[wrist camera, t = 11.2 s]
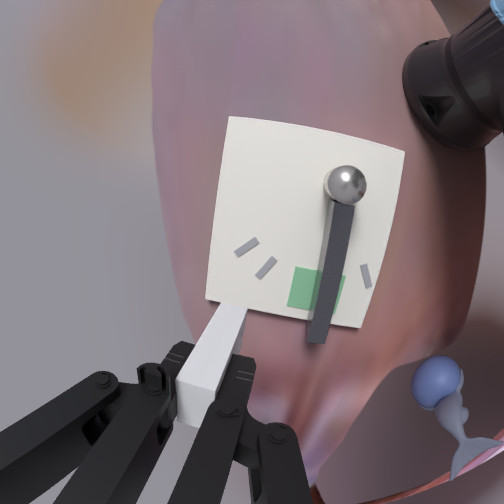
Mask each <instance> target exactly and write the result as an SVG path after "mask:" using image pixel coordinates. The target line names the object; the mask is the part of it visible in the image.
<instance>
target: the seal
mask: <svg viewBox="0 0 504 504" xmlns="http://www.w3.org/2000/svg"><path fill="white" fill-rule="evenodd" d="M463 380H464V376H463V372H462V369H460V370H459V368H458V365H457V364H456V363H455V361H453V360H452V359H451V358H449V357H446V356H434V357H431V358H429V359H427V360H425V361H424V362H423V363H422V364H421V365H420V366H419V367H418V368H417V370H416V371H415V373H414V375H413V378H412V383H411V390H412V394H413V397H414V398H415V400H416V401H417V402H418V403H419V404H418V405H419V406H420V407H421V408H423V409H424V410H428V411H435V412H436V417H437V418H438V421H439V423H440V424H441V425H442V426H443V427H444V428H445V429H446V430H448V431H449V432H450V433H451V434H452V435H453V436H454V437H455V438H456V439H457V441H458V442H459V446H458V449H457V450H456V452H455V455H454V456H453V459H452V465H451V475H450V479H449V480H450V481H452V480H453V479H454V478H455V477H456V475H457V474H458V473H459V471H460V470H461V469H462V468H463V467H464V466H465V465H466V464H467V463H468V462H469V461H471V460H472V459H473V458H475V457H476V456H477V455H479V454H481V453H482V452H484V451H486V450H488V449H490V448H494V447H497V446H500V445H502V444H503V441H497V440H493V439H489V438H484V437H476V438H468V437H466V435H465V433H464V429H463V424H464V423H465V422H466V420H467V419H468V414H469V412H468V409H467V408H465V407H462V396H461V394H460V390H461V388H462V386H463Z"/></svg>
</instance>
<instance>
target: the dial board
mask: <svg viewBox="0 0 504 504" xmlns="http://www.w3.org/2000/svg"><path fill="white" fill-rule="evenodd" d="M404 154H405V152H404V151H401V150H398V149H395V148H392V147H389V146H385V145H382V144H379V143H375V142H371V141H368V140H364V139H360V138H356V137H353V136H348V135H344V134H340V133H336V132H331V131H327V130H322V129H317V128H312V127H306V126H301V125H295V124H289V123H283V122H276V121H269V120H261V119H253V118H243V117H233V116H229V121H228V127H227V133H226V139H225V145H224V151H223V158H222V164H221V171H220V178H219V185H218V192H217V199H216V207H215V215H214V223H213V231H212V239H211V248H210V257H209V266H208V276H207V286H206V296H205V299H208V300H212V301H217V302H222V303H226V304H231V305H235V306H240V307H244V308H248V309H253V310H258V311H263V312H268V313H273V314H278V315H284V316H289V317H294V318H300V319H305V320H307V317H308V313H309V308H310V304H311V299H312V294H313V289H314V284H315V279H316V274H317V269H318V263H319V258H320V252H321V247H322V241H323V235H324V229H325V222H326V216H327V209H328V202H329V199H332V200H335V199H333V198H331V197H330V196H329V195H328V194H327V193H326V191H325V189H324V184H323V183H324V177H325V175H326V174H327V172H328V171H329V170H331V169H333V168H336V167H339V166H343V165H350V166H354V167H356V168H358V169H359V170H360V171H361V172H362V173H363V175H364V177H365V179H366V184H367V187H366V192H365V194H364V196H363V198H362V199H361V200H360V201H358V202H356V203H354V204H352V205H355V209H354V216H353V222H352V228H351V233H350V239H349V244H348V249H347V254H346V259H345V264H344V269H343V273H342V278H341V282H340V287H339V291H338V295H337V299H336V303H335V307H334V311H333V315H332V319H331V323H330V324H336V325H342V326H349V327H355V328H361V325H362V323H363V320H364V317H365V314H366V311H367V309H368V306H369V303H370V300H371V297H372V294H373V291H374V288H375V284H376V281H377V278H378V275H379V271H380V268H381V264H382V261H383V257H384V254H385V250H386V246H387V242H388V238H389V234H390V230H391V226H392V221H393V217H394V212H395V207H396V202H397V197H398V192H399V186H400V181H401V175H402V168H403V161H404Z"/></svg>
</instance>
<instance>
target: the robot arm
mask: <svg viewBox="0 0 504 504" xmlns="http://www.w3.org/2000/svg"><path fill="white" fill-rule="evenodd" d="M403 86H404V90H405V94H406V97H407V100H408V102H409V104H410V106H411V108H412V110H413V112H414V114H415V116H416V117H417V119H418V120H419V121H420V123H421V124H422V125H423V127H424V128H425V129H426V130H427V131H428V132H429V133H430V134H431V135H432V136H433V137H434V138H435V139H437V140H438V141H439V142H441V143H442V144H444V145H446V146H448V147H450V148H452V149H455V150H461V151H467V150H476V149H480V148H482V147H484V146H486V145H487V144H489V143H490V142H491V141H492V139H494V138H495V137H497V136H498V135H499V134H501V133H502V132H503V134H504V0H491V1H490V4H489V5H488V6H487V7H486V8H484V9H483V10H482V11H481V12H480V13H478V14H477V15H476V16H475V17H474V18H472V19H471V20H470V21H469V22H468V23H466V24H465V25H464V26H463V27H462V28H461V29H459V30H458V31H457V32H456V33H455V34H454V35H452V36H451V37H449V38H443V39H439V40H433V41H427V42H424V43H422V44H420V45H418V46H417V47H416V48H415V49H414V50H413V51H412V52H411V53H410V54H409V55H408V57H407V58H406V60H405V63H404V66H403ZM247 309H248V308H244V307H240V306H235V305H231V304H226V303H222V302H221V304H220V305H219V307H218V309H217V310H216V312H215V314H214V315H213V317H212V319H211V320H210V322H209V324H208V325H207V327H206V329H205V330H204V332H203V334H202V335H201V337H200V339H199V341H198V342H197V344H196V345H194V344H190V343H187V342H184V341H181V342H179V343H177V344H176V345H174V346H173V347H172V349H171V350H170V351H169V353H168V354H167V356H166V357H165V359H164V360H163V361H162V363H161V364H157V363H145V364H142V365H140V366H139V367H138V368H137V373H138V380H139V384H129V383H122V382H118V379H117V377H116V376H115V375H114V374H112V373H110V372H107V371H98V372H95V373H93V374H92V375H90V376H88V377H87V378H85V379H84V380H82V381H81V382H79V383H77V384H76V385H74V386H73V387H71V388H70V389H68V390H67V391H65V392H63V393H62V394H60V395H59V396H57V397H56V398H54V399H53V400H51V401H49V402H48V403H46V404H45V405H43V406H41V407H40V408H38V409H37V410H35V411H34V412H32V413H30V414H29V415H27V416H25V417H24V418H22V419H21V420H19V421H18V422H16V423H14V424H13V425H11V426H9V427H8V428H6V429H4V430H3V431H1V432H0V504H29V503H30V502H32V501H33V500H34V499H36V498H37V497H39V496H40V495H42V494H43V493H44V492H46V491H47V490H48V489H50V488H51V487H52V486H54V485H55V484H56V483H58V482H59V481H60V480H62V479H63V478H64V477H66V476H67V475H68V474H69V473H71V472H72V471H73V470H75V469H76V468H77V467H78V466H79V467H78V468H77V470H76V471H75V473H74V474H73V476H72V477H71V479H70V480H69V481H68V483H67V484H66V485H65V487H64V488H63V490H62V491H61V493H60V494H59V496H58V497H57V498H56V500H55V501H54V503H53V504H136V502H137V500H138V498H139V496H140V494H141V492H142V490H143V488H144V486H145V484H146V482H147V481H148V479H149V476H150V475H151V472H152V471H153V469H154V467H155V465H156V463H157V461H158V459H159V456H160V454H161V453H162V451H163V449H164V447H165V445H166V443H167V441H168V439H169V437H170V435H171V433H172V431H173V421H174V419H175V417H176V415H177V421H179V422H181V423H184V424H187V425H191V426H194V427H197V428H199V431H198V433H197V436H196V438H195V440H194V443H193V445H192V448H191V450H190V453H189V455H188V457H187V460H186V462H185V464H184V466H183V469H182V471H181V474H180V476H179V478H178V480H177V483H176V485H175V487H174V490H173V492H172V494H171V497H170V499H169V501H168V503H167V504H220V502H221V499H222V495H223V492H224V489H225V485H226V482H227V479H228V475H229V471H230V468H231V464H232V461H233V460H234V461H236V462H238V463H240V464H242V465H244V466H246V467H248V474H249V485H250V494H251V504H313V501H312V497H311V492H310V488H309V484H308V480H307V476H306V472H305V468H304V464H303V460H302V456H301V452H300V448H299V444H298V440H297V436H296V434H295V432H294V430H293V429H292V428H291V427H289V426H288V425H285V424H283V423H277V422H274V423H269V424H267V425H265V424H263V423H261V422H259V421H257V420H255V419H254V418H253V417H252V416H251V415H250V414H249V412H248V410H247V404H248V400H249V395H250V391H251V387H252V383H253V379H254V374H255V370H256V364H255V361H254V358H250V357H245V356H241V355H238V354H239V351H240V349H241V344H242V338H243V332H244V327H245V321H246V315H247Z"/></svg>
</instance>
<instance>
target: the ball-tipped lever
mask: <svg viewBox="0 0 504 504" xmlns="http://www.w3.org/2000/svg"><path fill="white" fill-rule="evenodd" d="M323 184H324V189H325V191H326V193H327V194H328V195H329V196H330V197H331V198H333V199H335V200H332V199H329V202H328V209H327V216H326V222H325V229H324V235H323V241H322V247H321V252H320V258H319V263H318V269H317V274H316V279H315V284H314V289H313V294H312V299H311V304H310V308H309V313H308V317H307V322H306V335H307V342H309V343H318V344H325V341H326V337H327V334H328V330H329V326H330V323H331V319H332V315H333V311H334V307H335V303H336V299H337V295H338V291H339V287H340V282H341V278H342V273H343V269H344V264H345V259H346V254H347V249H348V244H349V239H350V233H351V228H352V222H353V216H354V209H355V205H352V204H354V203H356V202H358V201H360V200H361V199H362V198H363V196H364V194H365V192H366V187H367V184H366V179H365V177H364V175H363V173H362V172H361V171H360V170H359V169H358V168H356V167H354V166H350V165H343V166H339V167H336V168H333V169H331V170H329V171H328V172H327V174H326V175H325V177H324V183H323Z"/></svg>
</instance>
